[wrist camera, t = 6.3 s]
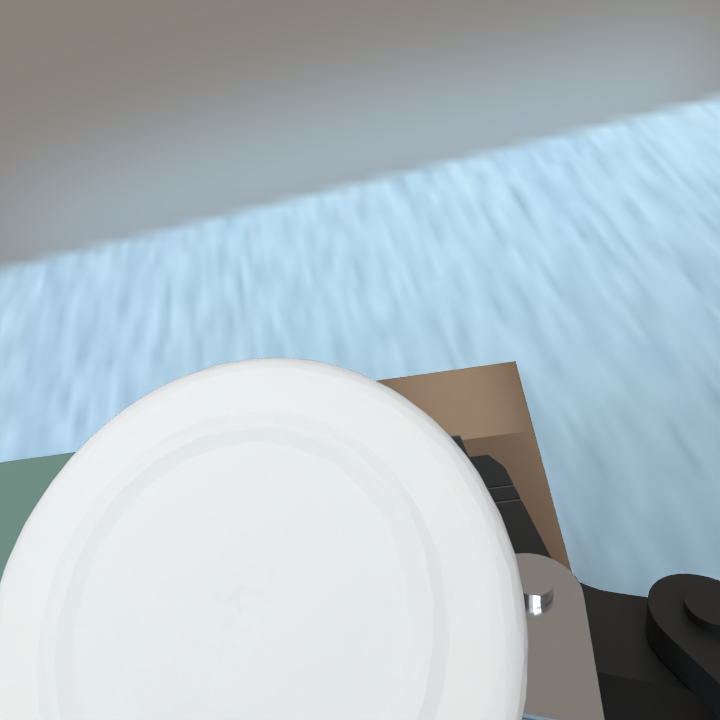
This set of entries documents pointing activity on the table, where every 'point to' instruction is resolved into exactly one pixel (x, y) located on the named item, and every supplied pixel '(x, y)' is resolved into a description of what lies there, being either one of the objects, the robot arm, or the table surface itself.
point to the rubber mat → (23, 495)
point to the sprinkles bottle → (265, 563)
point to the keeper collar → (491, 431)
